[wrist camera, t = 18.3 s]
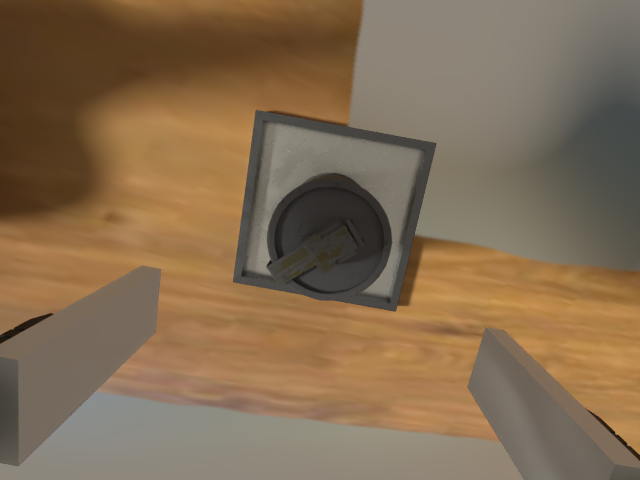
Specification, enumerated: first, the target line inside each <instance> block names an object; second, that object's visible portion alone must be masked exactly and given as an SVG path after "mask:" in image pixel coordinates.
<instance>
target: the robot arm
mask: <svg viewBox="0 0 640 480" xmlns="http://www.w3.org/2000/svg"><path fill="white" fill-rule="evenodd" d="M160 276H161V269H157V268H152V267H146V266H141V267H139V268H137V269H135V270H133V271H131V272H130V273H128V274H126V275H124V276H122V277H121V278H119V279H117V280H115V281H113V282H112V283H110V284H108V285H106V286H104V287H102V288H101V289H99V290H97V291H95V292H93V293H92V294H90V295H88V296H86V297H84V298H83V299H81V300H79V301H77V302H75V303H74V304H72V305H70V306H68V307H66V308H64V309H63V310H61V311H59V312H57V313H55V314H52V313H50V314H46V315H43V316H40V317H36V318H33V319H30V320H28V321H26V322H24V323H22V324H20V325H18V326H17V327H15V328H14V329H13V330H9V331H7V332H5V333H3V334H1V335H0V463H3V464H9V465H15V466H19V465H20V464H22V463H23V462H24V461H25V460H26V459H27V457H29V456H30V455H31V454H32V453H33V452H34V451H35V450H36V449H37V448H38V447H39V446H40V445H41V444H42V443H43V442H44V441H45V440H46V439H47V438H48V437H49V436H50V435H51V434H52V433H53V432H54V431H55V430H56V429H57V428H58V427H59V426H60V425H61V424H62V423H63V422H64V421H65V420H67V419H68V417H70V416H71V415H72V414H73V413H74V412H75V411H76V410H77V408H79V407H80V406H81V405H82V404H83V403H84V402H85V401H86V400H87V399H88V398H89V397H90V396H91V395H92V394H93V393H94V392H95V391H96V390H97V389H98V388H99V387H100V386H101V385H102V384H103V383H104V382H105V381H106V380H107V379H108V378H109V377H110V376H111V375H113V374H114V373H115V372H116V371H117V370H118V369H119V368H120V367H121V366H122V365H123V364H124V363H125V362H126V361H127V360H128V359H129V358H130V357H131V356H132V355H133V354H134V353H135V352H136V351H137V350H138V349H139V348H140V347H141V346H142V345H143V344H144V343H145V342H146V341H147V340H148V339H149V338H150V337H151V336H152V335H153V334H154V333H155V332H156V322H157V311H158V299H159V287H160ZM467 388H468V389H469V391H470V392H471V394H472V396H473V397H474V399H475V401H476V402H477V404H478V405H479V407H480V409H481V410H482V412H483V414H484V415H485V417H486V419H487V420H488V422H489V423H490V425H491V427H492V428H493V430H494V432H495V433H496V435H497V436H498V438H499V440H500V441H501V443H502V445H503V446H504V448H505V449H506V451H507V452H508V454H509V456H510V457H511V459H512V461H513V462H514V464H515V466H516V467H517V469H518V471H519V472H520V474H521V476H522V477H523V479H524V480H640V455H639V454H638V453H637V452H636V451H635V450H634V449H633V448H631V447H630V446H627V443H626V442H625V441H624V440H623V439H622V438H621V437H620V436H619V435H616V434H615V431H613V430H612V429H611V428H610V427H609V426H608V425H607V424H606V423H605V422H604V421H603V420H602V419H601V418H599V417H598V416H596V415H595V414H593V413H592V412H590V411H589V410H587V409H586V408H585V407H583V406H582V405H581V404H580V403H579V402H578V401H577V400H576V399H575V398H574V397H573V396H572V395H571V394H570V393H569V392H568V391H567V390H566V389H565V388H564V387H562V386H561V385H560V384H559V383H558V382H557V381H556V380H555V379H554V378H553V377H552V376H551V375H550V374H549V373H548V372H547V371H546V370H545V369H544V368H543V367H542V366H541V365H540V364H539V363H538V362H536V361H535V360H534V359H533V358H532V357H531V356H530V355H529V354H528V353H527V352H526V351H525V350H524V349H523V348H522V347H521V346H520V345H519V344H518V343H517V342H516V341H515V340H514V339H513V338H512V337H510V336H509V335H508V334H507V333H506V332H505V331H504V330H498V329H493V328H487V327H486V328H485V331H484V334H483V338H482V341H481V344H480V347H479V351H478V354H477V357H476V361H475V364H474V367H473V371H472V374H471V377H470V380H469V384H468V387H467Z"/></svg>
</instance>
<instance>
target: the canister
mask: <svg viewBox="0 0 640 480" xmlns="http://www.w3.org/2000/svg"><path fill="white" fill-rule="evenodd" d="M267 247H268V253H269V256H270V261H269V262H268V264H267V266H266V267H267V269H268V270H269V272H270V273H271V275H272V276H273V278H274V279H275V281H276V282H277V284H278V285H279V286H281V285H283V284H285V283H286V284H287V285H288V286H290V287H291V288H292V289H293V290H295V291H296V292H298V293H300V294H302V295H305V296H308V297H311V298H314V299H317V300H340V299H345V298H348V297H351V296H353V295H355V294H358V293H360V292H362V291H364V290H366V289H367V288H368V287H369V286H371V285H372V284H373V283H374V282H375V281H376V280H377V279H378V278H379V276H380V275H381V273H382V272H383V270H384V269H385V267H386V265H387V262H388V259H389V256H390V252H391V247H392V232H391V227H390V223H389V220H388V217H387V215H386V213H385V211H384V209H383V207H382V206H381V204H380V203H379V202H378V200H377V199H376V198H375V197H374V196H373V195H372V194H371V193H369V192H368V191H367V190H365V189H364V188H362V187H361V186H360V185H359V184H358V183H356V182H355V181H354V180H353V179H351V178H349V177H347V176H345V175H342V174H338V173H322V174H319V175H316V176H313V177H311V178H309V179H308V180H306V181H305V182H304V183H303V184H302V185H300V186H298V187H297V188H295V189H293V190H292V191H291V192H290V193H288V194H287V195H286V196H285V197H284V198H283V199H282V200H281V202H280V203H279V204H278V205H277V207H276V209H275V210H274V212H273V214H272V217H271V220H270V223H269V225H268V232H267Z"/></svg>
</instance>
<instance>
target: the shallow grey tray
mask: <svg viewBox="0 0 640 480" xmlns="http://www.w3.org/2000/svg"><path fill="white" fill-rule="evenodd" d="M435 147H436V143H432V142H426V141H421V140H416V139H410V138H405V137H399V136H394V135H389V134H383V133H378V132H372V131H366V130H362V129H356V128H351V127H345V126H340V125H334V124H329V123H324V122H318V121H313V120H307V119H302V118H297V117H291V116H286V115H280V114H275V113H269V112H264V111H259V110H256V113H255V120H254V128H253V135H252V143H251V150H250V158H249V165H248V173H247V180H246V188H245V195H244V203H243V210H242V218H241V225H240V233H239V240H238V248H237V255H236V263H235V270H234V278H233V282H235V283H240V284H246V285H251V286H257V287H263V288H268V289H274V290H279V291H285V292H290V293H296V294H300V293H298V292H296V291H295V290H293V289H292V288H291V287H290V286H288V285H287V284H286V283H285V284H283V285H281V286H279V285H278V284H277V282H276V281H275V279H274V278H273V276H272V275H271V273H270V272H269V270H268V269H267V267H266V266H267V264H268V262H269V261H270V256H269V253H268V247H267V232H268V225H269V223H270V220H271V217H272V214H273V212H274V210H275V209H276V207H277V205H278V204H279V203H280V202H281V200H282V199H283V198H284V197H285V196H286V195H287V194H288V193H290V192H291V191H292V190H293V189H295V188H297V187H298V186H300V185H302V184H303V183H304V182H305V181H306V180H308V179H309V178H311V177H313V176H316V175H319V174H322V173H338V174H342V175H345V176H347V177H349V178H351V179H353V180H354V181H355V182H356V183H358V184H359V185H360V186H361V187H362V188H364V189H365V190H367V191H368V192H369V193H371V194H372V195H373V196H374V197H375V198H376V199H377V200H378V202H379V203H380V204H381V206H382V207H383V209H384V211H385V213H386V215H387V217H388V220H389V223H390V227H391V232H392V247H391V252H390V256H389V259H388V262H387V265H386V267H385V269H384V270H383V272H382V273H381V275H380V276H379V278H378V279H377V280H376V281H375V282H374V283H373V284H372V285H371V286H369V287H368V288H367V289H366V290H364V291H362V292H360V293H358V294H355V295H353V296H351V297H348V298H345V299H340V300H334V301H340V302H345V303H351V304H356V305H362V306H367V307H373V308H378V309H384V310H389V311H395V312H396V309H397V304H398V300H399V296H400V292H401V288H402V284H403V280H404V276H405V271H406V267H407V263H408V259H409V255H410V251H411V247H412V242H413V238H414V234H415V230H416V226H417V222H418V218H419V213H420V209H421V205H422V201H423V197H424V193H425V188H426V184H427V180H428V176H429V172H430V168H431V164H432V160H433V156H434V151H435ZM301 295H302V294H301Z"/></svg>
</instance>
